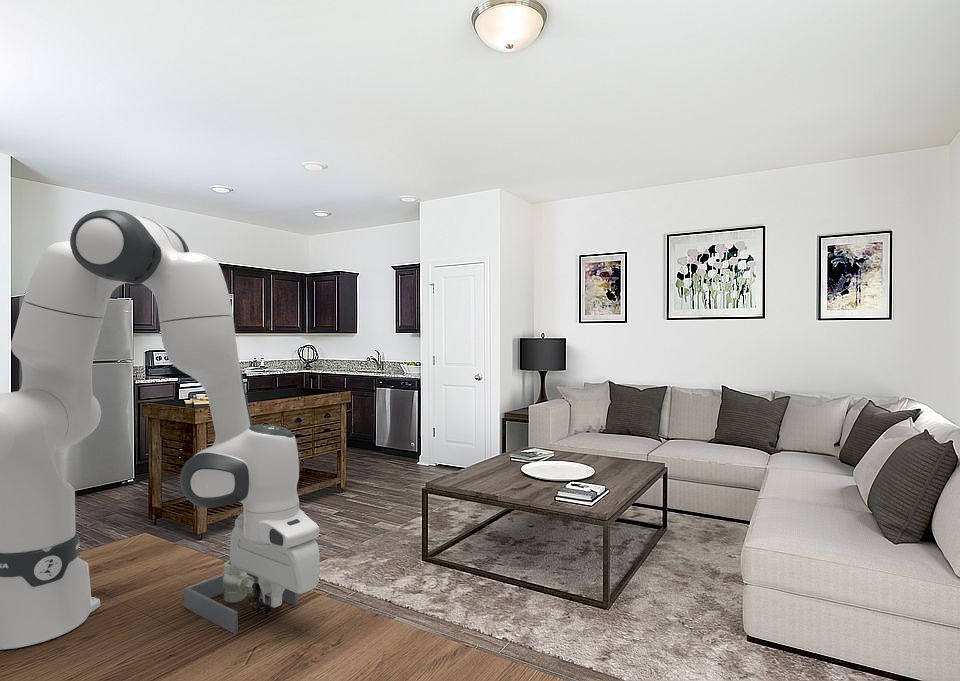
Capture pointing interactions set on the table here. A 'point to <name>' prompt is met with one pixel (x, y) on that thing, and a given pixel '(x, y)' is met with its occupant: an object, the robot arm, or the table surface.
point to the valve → (242, 588)
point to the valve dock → (214, 611)
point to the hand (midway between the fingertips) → (272, 604)
